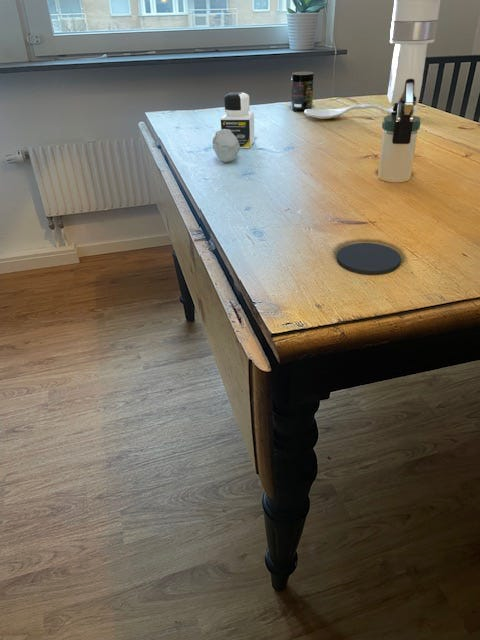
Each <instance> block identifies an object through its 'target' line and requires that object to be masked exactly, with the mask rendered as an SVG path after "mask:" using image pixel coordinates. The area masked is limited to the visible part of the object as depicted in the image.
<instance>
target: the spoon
mask: <svg viewBox="0 0 480 640" xmlns="http://www.w3.org/2000/svg"><path fill="white" fill-rule="evenodd" d="M357 109H358V110H360V109H361V110H362V109H363V110H364V109H376V110H379V111H381V112H383V113H385V114H387V115H391V113H392V112H393V106H392V107H390V108H385V107H383V106H381V105H378V104H374V103H362V104H361V103H360V104H354V105H349V106H347V107H342V108H332V109H331V108H329V109H320V108H319V109H318V108H312V109H305V111H304V114H305V115H306V116H310V117H312V118H315V119H320V120H330V119H334V118H337V117H340V116H342V115H344V114H346V113H348V112H350V111H352V110H357ZM419 110H421V106H419V105H418V106H414V112H416V111H419Z"/></svg>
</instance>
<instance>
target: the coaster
mask: <svg viewBox="0 0 480 640" xmlns="http://www.w3.org/2000/svg"><path fill="white" fill-rule="evenodd" d="M336 262H337V263H338V264H339V266H341V267H342V268H343V269H346V270H347V271H350V272H352V273H356V274H361V275H372V276H373V275H375V276H376V275H384V274H389V273H391V272H394V271H395V270H397V269H399V267H400V265H401V262H402V257H401V254H400V253H399V252H398V251H397V250H396V249H393V248H392V247H390V246H387V245H385V244H380V243H375V242H356V243H351V244H350V243H349V244H347V245H344V246H343V247H341V248H340V249H339V250H338V251H337V253H336Z"/></svg>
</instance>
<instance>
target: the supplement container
mask: <svg viewBox="0 0 480 640" xmlns="http://www.w3.org/2000/svg"><path fill="white" fill-rule="evenodd" d="M314 79H315V72H313V71H295V72H291V97H290V98H291V99H290V100H291V101H290V102H291V103H290V104H291V105H290V107H291V110H292V111H293V112H298V113H299V112H300V113H301V112H303V113H305V109H313V107H314V106H313V103H314V81H315V80H314Z"/></svg>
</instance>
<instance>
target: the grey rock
mask: <svg viewBox="0 0 480 640" xmlns="http://www.w3.org/2000/svg"><path fill="white" fill-rule="evenodd" d="M239 147H240V145H239V142H238V140H237V137H236V136H235V135H234V134H233V133H232V132H231V130H229V129H221V128H220V130H216V131H215V135H214V137H213V138H212V149H213V150H214V153H215V155H216V157H217V158H218V159H219V160H220V161H222V162H224V163H230V162H233V161H234V160H235V159H236V158H237V156H238V154H239V152H240V148H239Z"/></svg>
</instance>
